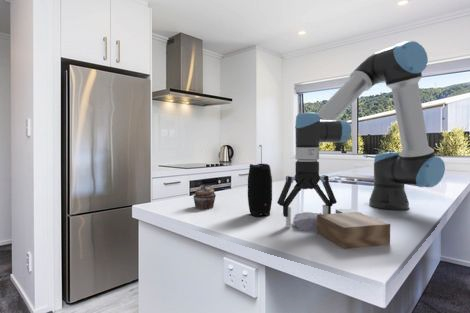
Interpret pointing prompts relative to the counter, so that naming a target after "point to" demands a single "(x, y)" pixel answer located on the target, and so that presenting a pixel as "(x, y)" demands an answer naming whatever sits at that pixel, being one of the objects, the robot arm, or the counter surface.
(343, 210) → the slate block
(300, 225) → the stone block
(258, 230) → the counter surface
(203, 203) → the cupcake
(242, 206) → the counter surface
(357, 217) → the walnut block
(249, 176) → the portable speaker
